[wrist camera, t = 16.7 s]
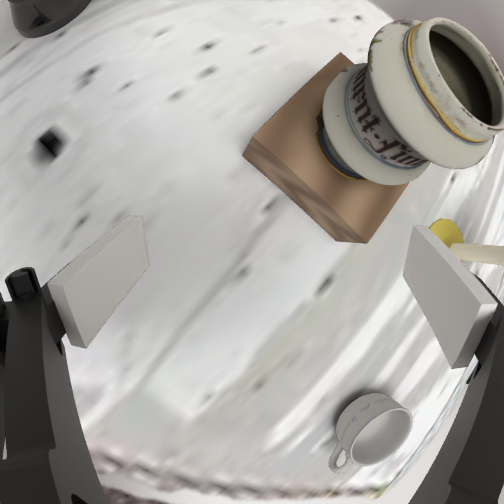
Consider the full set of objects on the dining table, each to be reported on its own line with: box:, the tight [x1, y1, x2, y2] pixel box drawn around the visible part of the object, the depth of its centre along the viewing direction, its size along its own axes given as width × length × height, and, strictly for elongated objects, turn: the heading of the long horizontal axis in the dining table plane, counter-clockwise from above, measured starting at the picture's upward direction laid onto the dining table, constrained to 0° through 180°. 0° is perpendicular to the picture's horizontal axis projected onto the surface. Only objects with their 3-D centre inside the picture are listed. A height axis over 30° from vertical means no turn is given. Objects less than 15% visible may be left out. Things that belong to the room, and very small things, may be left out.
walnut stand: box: [242, 52, 409, 244], centre depth 34 cm, size 16×16×8 cm
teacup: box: [329, 393, 413, 474], centre depth 38 cm, size 14×11×8 cm
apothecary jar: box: [315, 18, 504, 185], centre depth 21 cm, size 12×12×18 cm
